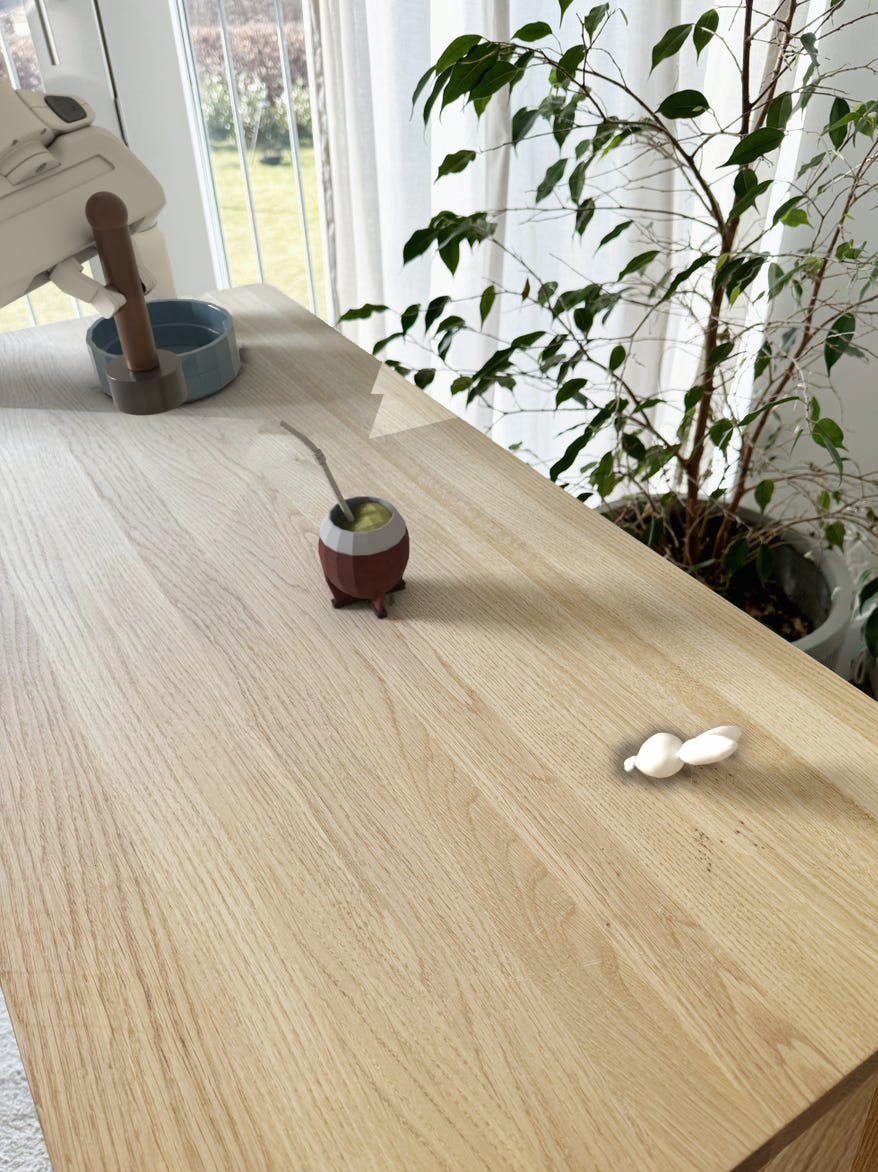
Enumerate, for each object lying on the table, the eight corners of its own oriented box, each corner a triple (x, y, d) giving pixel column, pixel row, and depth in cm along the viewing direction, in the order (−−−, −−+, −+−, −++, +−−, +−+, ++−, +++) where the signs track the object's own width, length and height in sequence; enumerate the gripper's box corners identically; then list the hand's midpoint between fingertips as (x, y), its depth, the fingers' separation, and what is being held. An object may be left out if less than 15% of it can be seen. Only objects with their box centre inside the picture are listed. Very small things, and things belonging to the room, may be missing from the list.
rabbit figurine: (626, 735, 70) (739, 705, 67) (644, 788, 70) (757, 761, 67) (608, 754, 64) (729, 723, 62) (626, 812, 64) (749, 783, 62)
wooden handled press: (103, 414, 82) (44, 204, 71) (128, 380, 87) (77, 178, 76) (174, 417, 82) (127, 207, 71) (197, 382, 86) (155, 180, 75)
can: (116, 335, 118) (89, 231, 110) (142, 313, 123) (119, 211, 115) (166, 341, 117) (143, 236, 109) (191, 318, 121) (171, 216, 114)
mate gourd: (425, 608, 80) (418, 444, 70) (332, 636, 78) (310, 470, 68) (391, 558, 85) (379, 397, 75) (302, 583, 83) (277, 420, 73)
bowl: (77, 406, 105) (62, 357, 102) (128, 342, 117) (117, 296, 113) (218, 412, 104) (209, 363, 100) (256, 347, 115) (249, 301, 112)
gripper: (-103, 165, 65) (62, 331, 69) (96, 91, 80) (223, 232, 83) (-128, 226, 69) (29, 380, 73) (65, 146, 84) (188, 278, 87)
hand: (134, 301), depth 78 cm, fingers closed on wooden handled press, 2 cm apart
